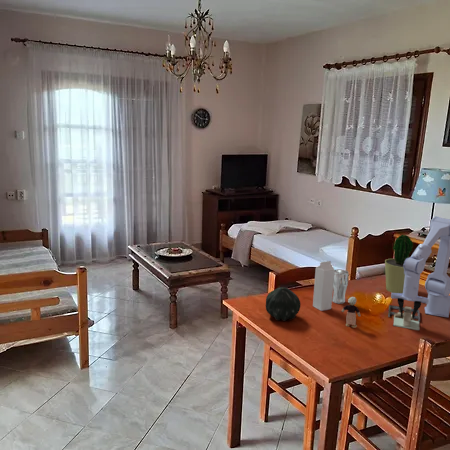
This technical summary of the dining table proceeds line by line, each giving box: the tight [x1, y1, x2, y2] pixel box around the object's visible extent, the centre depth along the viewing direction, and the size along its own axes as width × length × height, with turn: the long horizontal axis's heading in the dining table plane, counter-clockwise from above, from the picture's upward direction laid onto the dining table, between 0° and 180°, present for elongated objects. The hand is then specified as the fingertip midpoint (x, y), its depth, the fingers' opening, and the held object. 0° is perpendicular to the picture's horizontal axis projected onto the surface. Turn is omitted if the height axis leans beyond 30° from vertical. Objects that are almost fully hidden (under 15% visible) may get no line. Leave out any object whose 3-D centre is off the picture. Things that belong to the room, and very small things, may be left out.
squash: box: [265, 286, 302, 322], centre depth 188 cm, size 14×15×15 cm
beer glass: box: [332, 268, 349, 305], centre depth 207 cm, size 7×7×15 cm
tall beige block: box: [403, 306, 412, 327], centre depth 185 cm, size 2×7×6 cm, turn 158°
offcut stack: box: [393, 311, 415, 321], centre depth 192 cm, size 8×3×2 cm, turn 67°
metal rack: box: [387, 304, 421, 323], centre depth 196 cm, size 13×12×1 cm
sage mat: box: [393, 316, 420, 331], centre depth 186 cm, size 10×8×1 cm
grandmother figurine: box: [341, 296, 361, 329], centre depth 182 cm, size 8×4×13 cm, turn 71°
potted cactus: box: [384, 234, 414, 293], centre depth 223 cm, size 15×15×30 cm
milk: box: [312, 260, 336, 312], centre depth 199 cm, size 6×6×22 cm
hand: (407, 316), depth 185 cm, fingers open, 4 cm apart
